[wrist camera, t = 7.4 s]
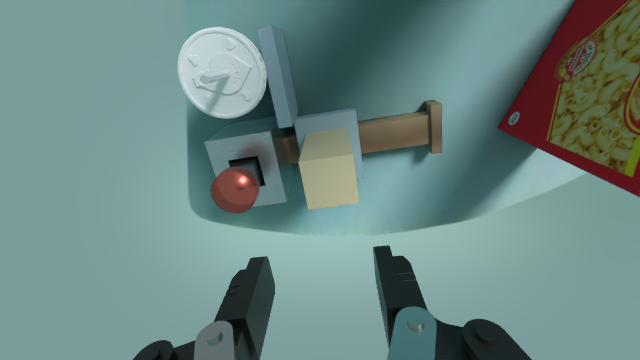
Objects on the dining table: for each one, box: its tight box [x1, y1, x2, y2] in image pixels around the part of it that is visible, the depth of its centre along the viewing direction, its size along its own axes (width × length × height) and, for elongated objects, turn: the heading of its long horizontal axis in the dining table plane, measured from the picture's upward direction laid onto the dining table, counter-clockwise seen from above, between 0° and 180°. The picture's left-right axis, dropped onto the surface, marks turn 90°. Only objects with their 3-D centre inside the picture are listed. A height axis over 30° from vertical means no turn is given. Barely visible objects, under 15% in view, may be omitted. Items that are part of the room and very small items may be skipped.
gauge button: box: [211, 156, 264, 213], centre depth 27 cm, size 4×4×7 cm
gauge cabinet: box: [204, 116, 295, 207], centre depth 31 cm, size 7×6×7 cm
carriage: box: [256, 25, 364, 210], centre depth 26 cm, size 15×7×11 cm, turn 10°
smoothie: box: [178, 27, 268, 119], centre depth 24 cm, size 6×6×14 cm
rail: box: [283, 100, 442, 164], centre depth 32 cm, size 5×16×2 cm, turn 99°
